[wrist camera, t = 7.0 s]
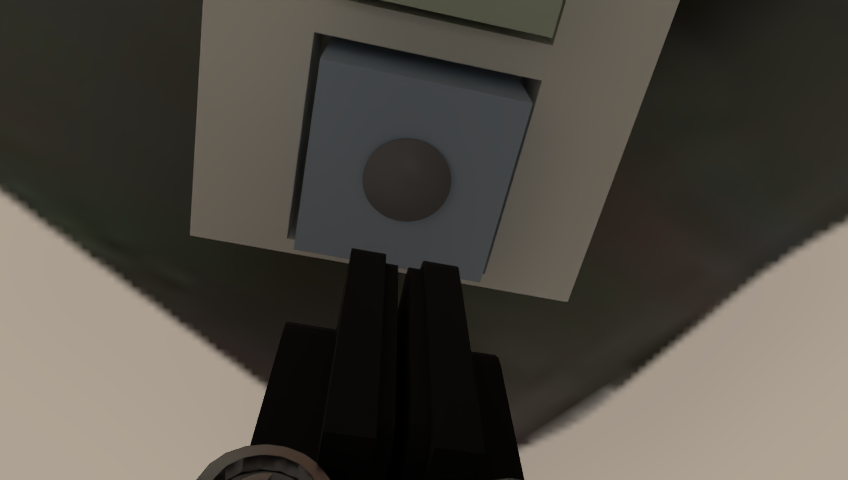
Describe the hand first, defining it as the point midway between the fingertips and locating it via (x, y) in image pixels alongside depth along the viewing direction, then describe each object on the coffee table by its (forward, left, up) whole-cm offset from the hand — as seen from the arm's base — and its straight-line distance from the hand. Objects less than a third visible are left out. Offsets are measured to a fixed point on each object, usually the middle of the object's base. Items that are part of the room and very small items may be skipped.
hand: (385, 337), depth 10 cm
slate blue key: (0, 0, -8) cm, 8 cm away
